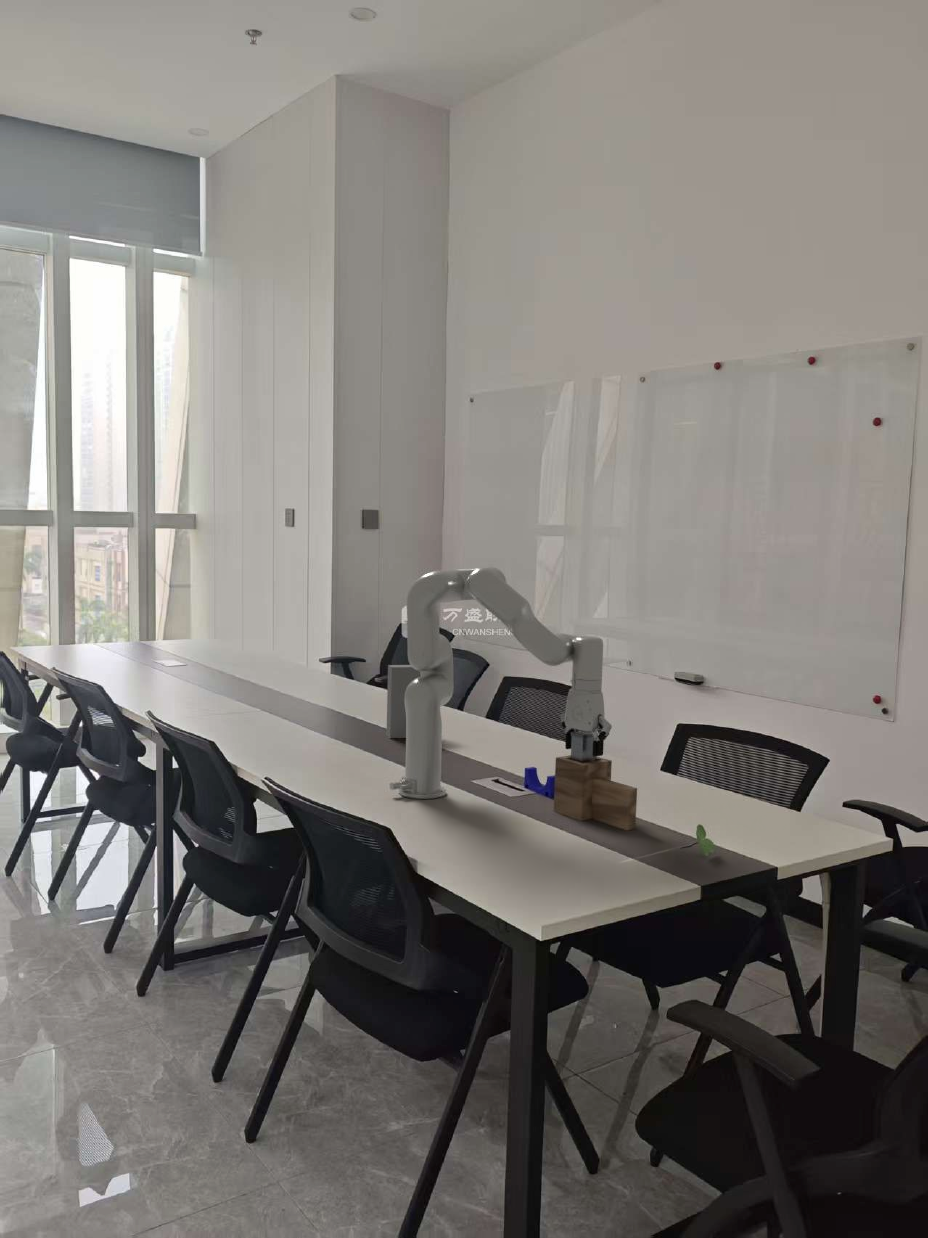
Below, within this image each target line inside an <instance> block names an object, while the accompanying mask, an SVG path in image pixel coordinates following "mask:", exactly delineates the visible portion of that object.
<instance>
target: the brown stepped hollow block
mask: <svg viewBox="0 0 928 1238" xmlns="http://www.w3.org/2000/svg"><path fill="white" fill-rule="evenodd" d="M612 761H613V760H611V759H606V758H604V757H601V756H596V761H594V762H588V763H580V762H577V761H573V760H571V754H570V755H569V754H568V755H564V756H556V757H555V768H554V769H555V770H554V775H555V790H554V798H553V812H555V813H556V814H557V813H558V814H560V815H564V816H566V817H569V818H572V819H575V820H578V821H581V822H582V821H587V820H595V821H597V822H600V823H603V824H606V825H609V826H611V827H614V828H619V829H621V830H624V831H630V830H635V829H636V824H637V803H638V802H637V799H638V788H637V787H634V786H632V785H631V786H630V785H628V784H623V783H620V782H617V781H613V780H612Z"/></svg>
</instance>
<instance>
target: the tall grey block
mask: <svg viewBox="0 0 928 1238" xmlns="http://www.w3.org/2000/svg"><path fill="white" fill-rule="evenodd" d="M418 677H421V675H420V671H418V670H416V669H414V668H413V667H412V666H411V665H410V664H392V665H391V664H388V665H387V693H386V694H387V696H386V698H387V699H386V731H385V732H386V734H385V736H386V735H387V736H389V738H406V710H405V692H406V689H407V687H408V685H409V684H410V683H411V682H412V681H413V680H414V679H416V678H418ZM387 736H386V737H387ZM389 738H388V739H389Z"/></svg>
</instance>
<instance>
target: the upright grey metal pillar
mask: <svg viewBox="0 0 928 1238" xmlns="http://www.w3.org/2000/svg"><path fill="white" fill-rule="evenodd" d="M571 736H572V741H571V749H570V751H571V752H570V755H571V760H573V761H577V762H580V763H588V762H594V761H596V757H597V756H596V757H594V756H593V755H592V753H593V741H594V740H595V738H594V736H593V734H592V732H583V731H579V730H575V732H571Z"/></svg>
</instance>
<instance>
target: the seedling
mask: <svg viewBox="0 0 928 1238" xmlns="http://www.w3.org/2000/svg"><path fill="white" fill-rule="evenodd" d="M695 836H696V840H697V842H694V843H693V844H691V845H689V846H681V847H679V849H686V848H691V847H692V846H694V845H697V844H698V845H699V849H700V851H701V852H702V854H703V855H704V856H706V857H708V856H709V852H710V853H711V854H714V852H715V851H716V846H715V844H714V842H713V841H712V840H711V839H710V838H706V837H707V831H706V830H705V828H704V826H703V825H702V824H697V825H696V831H695Z"/></svg>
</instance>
